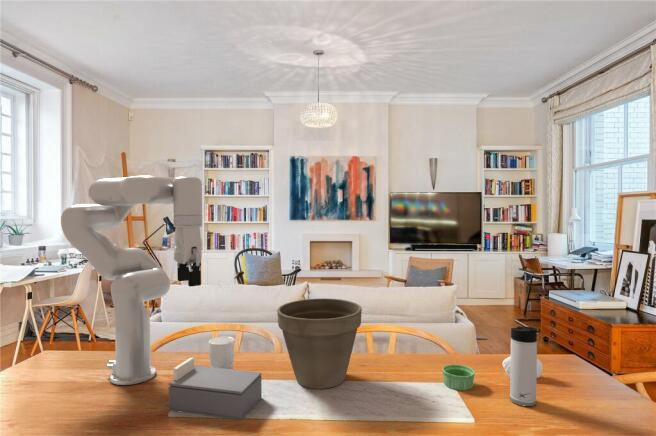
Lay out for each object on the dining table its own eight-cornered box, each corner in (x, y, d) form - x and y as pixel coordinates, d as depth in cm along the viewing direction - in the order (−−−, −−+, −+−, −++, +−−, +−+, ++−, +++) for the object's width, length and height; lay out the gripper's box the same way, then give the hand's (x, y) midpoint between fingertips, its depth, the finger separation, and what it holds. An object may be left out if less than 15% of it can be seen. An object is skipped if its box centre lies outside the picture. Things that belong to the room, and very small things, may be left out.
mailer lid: (168, 385, 105) (168, 371, 105) (194, 367, 116) (194, 354, 116) (241, 394, 100) (241, 379, 100) (261, 374, 111) (261, 361, 111)
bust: (540, 383, 126) (529, 346, 133) (551, 376, 120) (539, 338, 127) (501, 383, 126) (492, 346, 133) (510, 376, 120) (500, 338, 127)
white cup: (228, 378, 125) (227, 345, 124) (203, 375, 126) (203, 343, 126) (238, 368, 132) (238, 336, 132) (216, 366, 134) (215, 335, 134)
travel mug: (526, 410, 105) (527, 331, 105) (504, 399, 111) (505, 325, 110) (542, 404, 108) (543, 328, 107) (520, 394, 114) (521, 322, 113)
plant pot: (281, 402, 109) (281, 320, 109) (274, 366, 133) (274, 299, 133) (372, 393, 114) (372, 315, 114) (349, 361, 138) (349, 296, 138)
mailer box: (168, 410, 105) (168, 386, 105) (195, 389, 116) (194, 368, 116) (241, 419, 100) (241, 395, 100) (261, 397, 112) (261, 375, 111)
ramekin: (439, 388, 118) (439, 373, 118) (445, 376, 126) (445, 362, 126) (472, 394, 114) (473, 378, 114) (476, 381, 122) (476, 367, 122)
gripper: (165, 221, 120) (166, 280, 120) (183, 222, 106) (184, 289, 106) (191, 220, 124) (192, 277, 124) (212, 222, 110) (213, 286, 110)
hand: (188, 283), depth 115 cm, fingers open, 9 cm apart
